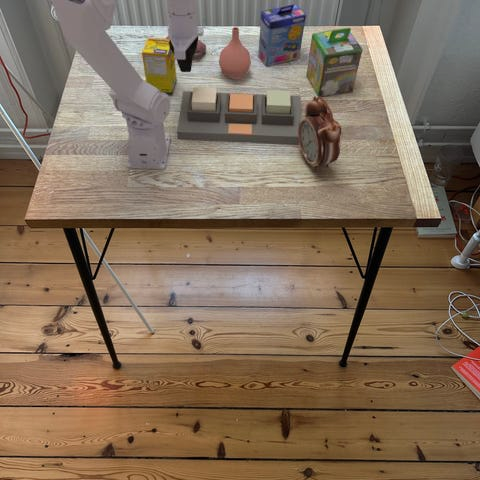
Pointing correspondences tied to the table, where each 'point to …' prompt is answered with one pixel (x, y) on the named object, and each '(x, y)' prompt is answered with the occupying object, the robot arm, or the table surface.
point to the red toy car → (198, 47)
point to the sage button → (278, 102)
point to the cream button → (204, 99)
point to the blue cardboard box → (281, 34)
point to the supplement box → (159, 65)
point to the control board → (239, 122)
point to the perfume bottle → (234, 57)
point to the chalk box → (333, 61)
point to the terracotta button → (241, 103)
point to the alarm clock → (319, 134)
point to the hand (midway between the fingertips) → (185, 70)
